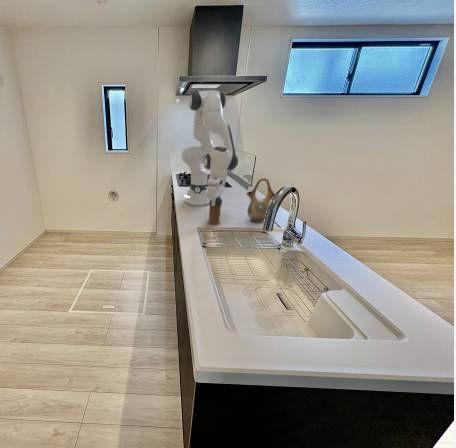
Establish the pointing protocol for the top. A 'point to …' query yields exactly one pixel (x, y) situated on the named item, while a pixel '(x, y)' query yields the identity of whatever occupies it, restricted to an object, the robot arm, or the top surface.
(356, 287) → the top surface
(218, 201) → the jar lid
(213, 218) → the coffee jar
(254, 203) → the ceramic vessel
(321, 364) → the top surface
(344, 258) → the top surface
